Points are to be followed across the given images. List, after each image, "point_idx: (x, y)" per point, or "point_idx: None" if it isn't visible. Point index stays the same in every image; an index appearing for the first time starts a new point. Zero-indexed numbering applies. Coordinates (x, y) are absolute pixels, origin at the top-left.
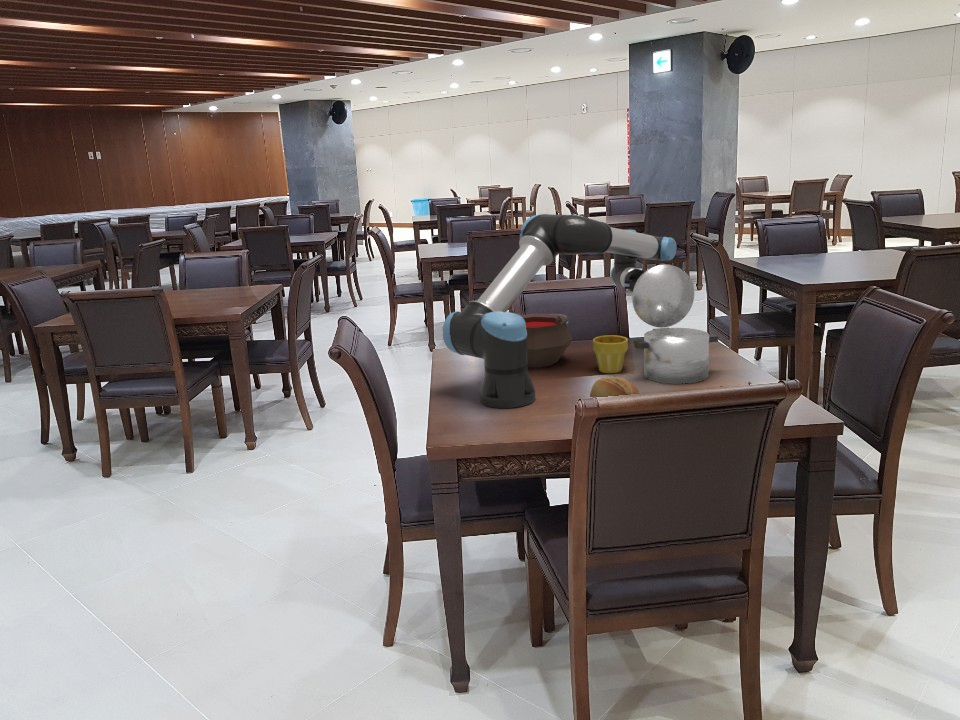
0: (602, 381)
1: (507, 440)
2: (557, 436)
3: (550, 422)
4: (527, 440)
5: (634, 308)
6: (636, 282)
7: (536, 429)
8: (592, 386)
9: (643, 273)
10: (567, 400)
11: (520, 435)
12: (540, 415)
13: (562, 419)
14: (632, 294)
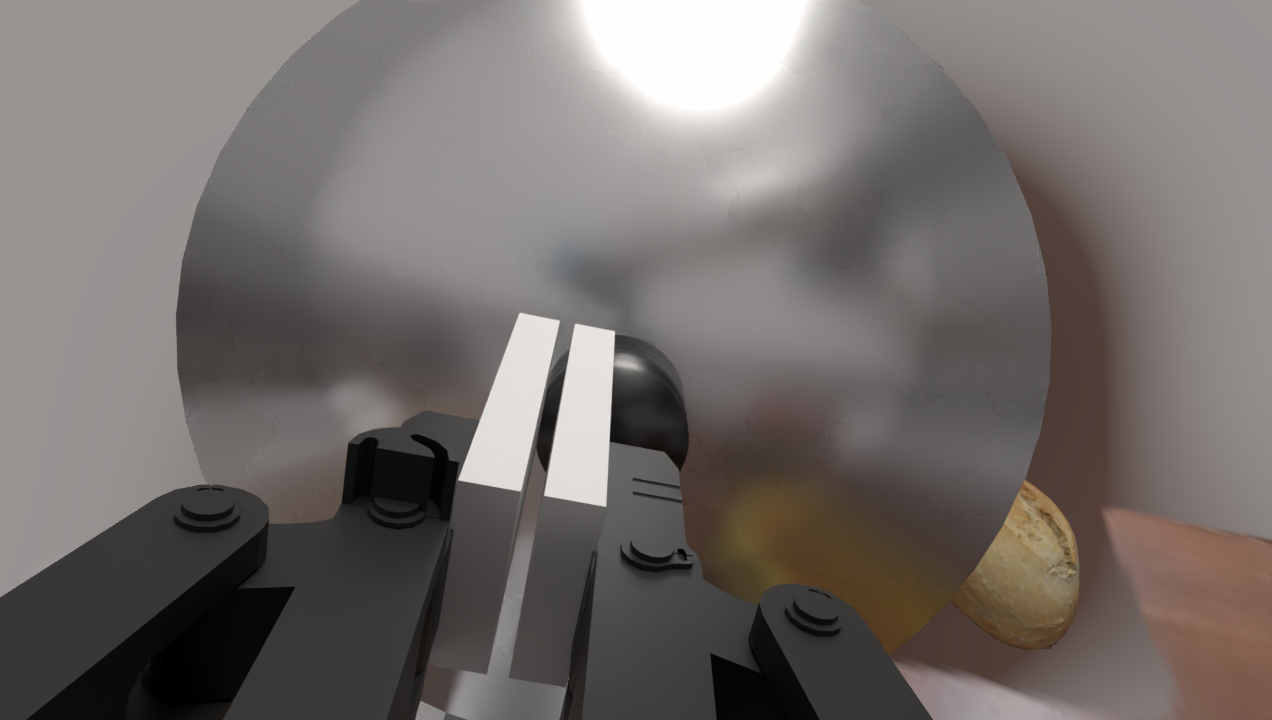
0: (1042, 493)
1: (1259, 546)
2: (1118, 515)
3: (1174, 582)
4: (1199, 528)
5: (951, 577)
6: (1039, 266)
7: (1202, 563)
8: (1078, 562)
9: (981, 124)
10: (1180, 713)
11: (1235, 554)
12: (1238, 635)
13: (1139, 583)
14: (1037, 430)
